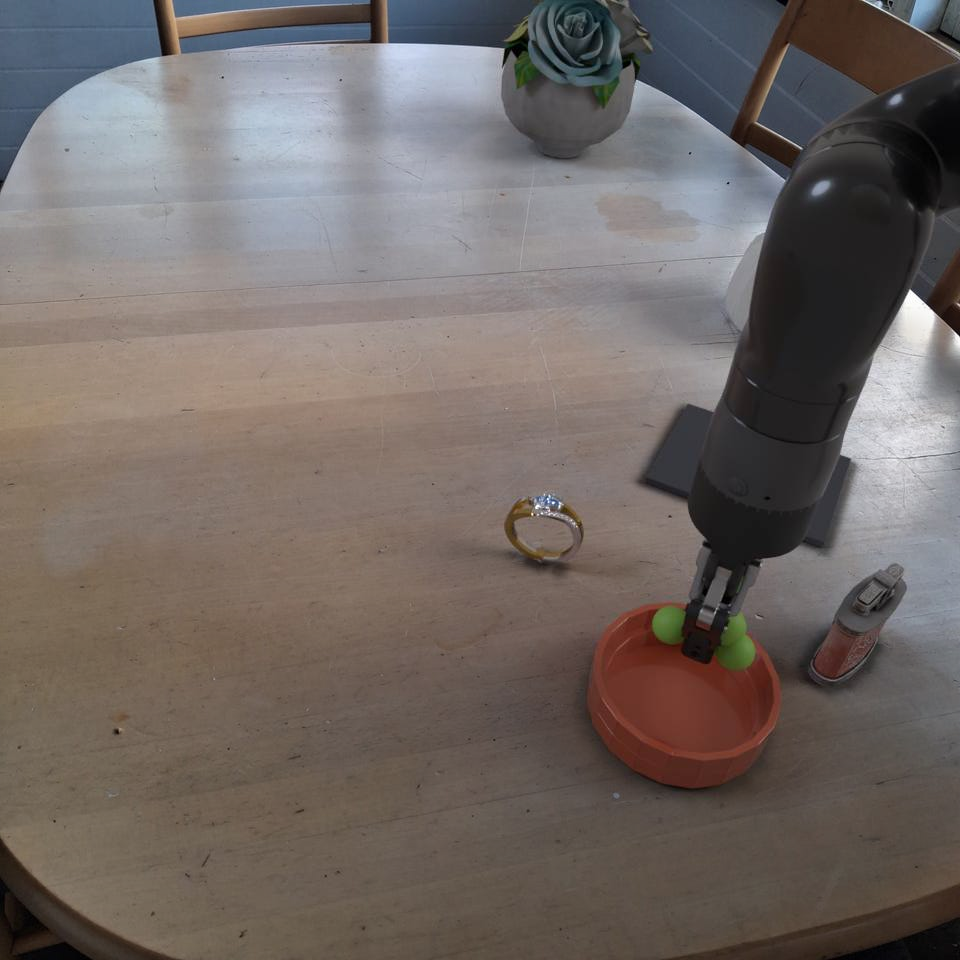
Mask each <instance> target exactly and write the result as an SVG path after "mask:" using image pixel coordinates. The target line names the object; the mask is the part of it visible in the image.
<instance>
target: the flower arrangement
mask: <svg viewBox="0 0 960 960" xmlns="http://www.w3.org/2000/svg"><path fill="white" fill-rule="evenodd" d="M535 2H536V6H535V7H534V8H533V10H532V11H531V13H530V14H528V15H527V16H524V17H523V21H522V22H520V23H518V24H515V25H512V27H513V28H516V29H515V30H514V32H513V33H512V34H511V35H510V36H509V37H507V38H506V39H502V40H503V42H505V47H504V50H503V55H502V56H503V58H502V66H501V69H502V70H503V71H502V74H501V84H500V86H501V89H500V98H501V102H502V106H503V109H504V113H505V116H506V117H507V118H508V120H509V122H510V123H511V125H513V126H514V127H515V129H517V131H519V133H520V134H522V135H524V136H525V137H527V138H528V139H530V140H532V141H533V144H534V146H535V148H536V149H537V151H538V152H540V153H542V154H543V155H545V156H549V157H551V158H556V159H557V158H558V159H573V158H576V157H580V156H581V155H583V154H584V153H586V152H587V150H588V148H589V146H594V145H596V144H600V143H602V142H604V141H605V140H607V139H608V138H609V137H611V136H612V135H614V134H615V133H616V132H618V131H619V130H620V129H622V127H623V125H624V123H625V121H626V120H627V118H628V116H629V114H630V112H631V107H632V102H633V97H634V92H635V87H636V82H637V79H638V76H639V72H640V69H641V60H640V59H639V57H638V55H636V52H638V51H641V52H642V53H643V54H646V55H651V54H654V52H653V46H652V44H651V42H650V41H649V39H650V38H651V35H652V34H651V33H650V32H649V31H648V30H647V29H645V28H644V27H643V24H642V23H641V21H640V20H639V18H638V17H637V16H636V15H635V14H634V13H633V11H632V10H631V8H630V2H629V0H618V1H617V0H543V1H542V0H535ZM506 42H507V43H506Z"/></svg>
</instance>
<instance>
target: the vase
mask: <svg viewBox="0 0 960 960" xmlns="http://www.w3.org/2000/svg"><path fill="white" fill-rule="evenodd" d="M764 235H765V232H762V233H760V234H758V235H756V236H755V237H754V238H753V239H752V241H751V242H750V243H749V245H747V246H748V247H747V248H746V249H745V251H744V253H743V255H742V257H741V259H740V261H739V263H738V264H737V266H736V268H735V270H734V272H733V274H732V276H731V278H730V281H729V283H728V285H727V288H726V292H725V295H724V303H723V307H724V309H725V311H726V313H727V315H728V318H729V319H730V321H731V323H732V325H733V326H734V328H735V330H736V331H739V332H740V333H742V330H743V328H744V325H745V323H746V321H747V319H748V316H749V308H750V302H751V296H752V290H753V284H754V278H755V273H756V269H757V264H758V259H759V255H760V251H761V247H762V243H763V239H764Z"/></svg>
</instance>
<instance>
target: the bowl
mask: <svg viewBox="0 0 960 960" xmlns="http://www.w3.org/2000/svg"><path fill="white" fill-rule="evenodd" d="M686 605H687V603H681V602H680V603H679V602H674V601H673V602H670V601H669V602H660V603H649V604H647V603H646V604H644V605H642V606H639V607H635V608H634V609H631V610H628V611H627V612H626V611H625V612H624V613H622V614H621V615H620V616H619V617H617V618H616V619H615V620H614V621H613V622H612V623H610V625H608V626H607V627H606V628H605V629H604V630H603V633H602V635H601V637H600V639H599V641H598V643H597V644H596V646H595V649H594V653H593V657H592V661H591V665H590V670H589V674H588V677H587V690H586V692H587V693H586V705H587V708H588V712H589V715H590V719H591V722H592V726H593V727H594V729H595V730H596V732H597V733H598V735H599V737H600V738H601V740H602V741H603V743H604V744H605V746H606V747H607V749H609V751H610V752H611V753H612V754H614V755H615V756H616V757H617V758H618V759H619V760H620V761H622V762H623V763H624V764H625V765H626V766H627V767H628V768H630V769H631V770H632V771H634V772H637V773H639V774H641V775H642V776H645V777H646V778H649V779H651V780H653V781H655V782H658V783H659V784H664V785H668V786H669V785H670V786H676V787H680V788H686V789H697V788H706V787H715V786H721V785H723V784H726V783H727V782H729V781H732V780H733V779H735V778H737V777H740V776H741V775H743V774H745V773H746V772H747V771H748V770H749V769H750V768H751V766H752V765H753V764H754V763H755V762H756V760H757V759H758V758H759V757H760V756H761V754H762V752H763V751H764V749H765V747H766V745H767V743H768V741H769V739H770V737H771V735H772V733H773V731H774V729H775V728H776V725H777V721H778V718H779V716H780V715H779V714H780V711H781V707H782V704H783V702H782V694H781V683H780V678H779V675H778V672H777V671H776V668H775V666H774V665H773V663H772V660H771V658H770V656H769V654H768V652H766V651H765V649H763V647H762V646H761V645H760V644H759V642H758V641H757V640H756V639H755V638H754V636H752V634H751V633H749V632H748V631H747V630H746V633H745V635H747V636H748V637H749V638H750V639H751V640H752V642H753V644H754V646H755V658H754V660H753V662H752V664H751V665H750V666H749V667H747V668H746V669H743V670H740V671H732V670H729V669H726V668H725V667H723V666H722V665H721V664H720V663H719V661H718V660H717V658H716V654H714V655H713V657H712V659H711V662H710V663H709V664H702V663H700V662H697V661H695V660H693V659H690V658H688V657H685V656H684V655H683V654H682V653H681V647H682V644H683V641H682V642H680V643H678V644H666V643H664V642H662V641H660V640H659V639H658V638H657V637H656V635H655V634H654V632H653V628H652V621H653V618H654V616H655V614H656V613H657V611H659V610H660V609H661V608H663V607H666V606H675V607H679V608H681V609H682V610H684V611H685V608H686ZM685 612H687V611H685Z"/></svg>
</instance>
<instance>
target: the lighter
mask: <svg viewBox="0 0 960 960" xmlns="http://www.w3.org/2000/svg"><path fill="white" fill-rule="evenodd" d="M905 572H906V569H905V567H904V566H902V565H901V564H899V563H898V562H891V563H889V564H888V565H887V566H886V568H884V569H881V568H880V569H878V570H877V571H876V572H873V573H872V574H870V575H868V576H867V577H865V578H863V579H862V580H861V581H860V582H859V583H857V584H856V585H854V586H853V588H851V590H850V591H849V592H848V593H847V594H846V595H845V597H844V598H843V600H842V601H841V604H840V605H839V607H838V609H837V610H836V612H835V615H834V617H833V620H832V622H831V628H830V630H829V631H828V633H827V635H826V637H825V639H824V641H823V642H822V643H821V645H820V646H819V647H818V648H817V650H816V651H815V653H814V655H813V657H812V659H811V660H810V663H809V664H808V668H807V671H808V675H809V676H810V677H811V679H813V681H815V682H816V683H817V684H819V685H821V686H823V687H825V688H827V687H828V688H833V687H836V686H838V685H840V684H841V683H843V682H845V681H846V680H848V679H849V678H851V677H852V676H853V675H854V674H855V673H856V672H857V671H858V670H860V669H861V667H862V666H863V665H864V664H865V662H866V661H867V659H868V658H869V657H870V655H871V653H872V651H873V650H874V648H875V646H876V644H877V642H878V639H879V635H880V633H881V631H882V629H883V628H884V627H885V624H886V622H887V620H889V619H890V618H891V616H892V615H893V614H894V612H895V611H896V610H897V608H899V605H900V603H902V600H903V598H904V596H905V594H906V592H907V590H908V585H907V583H906V582H905V580H904V579H903V578H902V577H903V576H904V574H905Z"/></svg>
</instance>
